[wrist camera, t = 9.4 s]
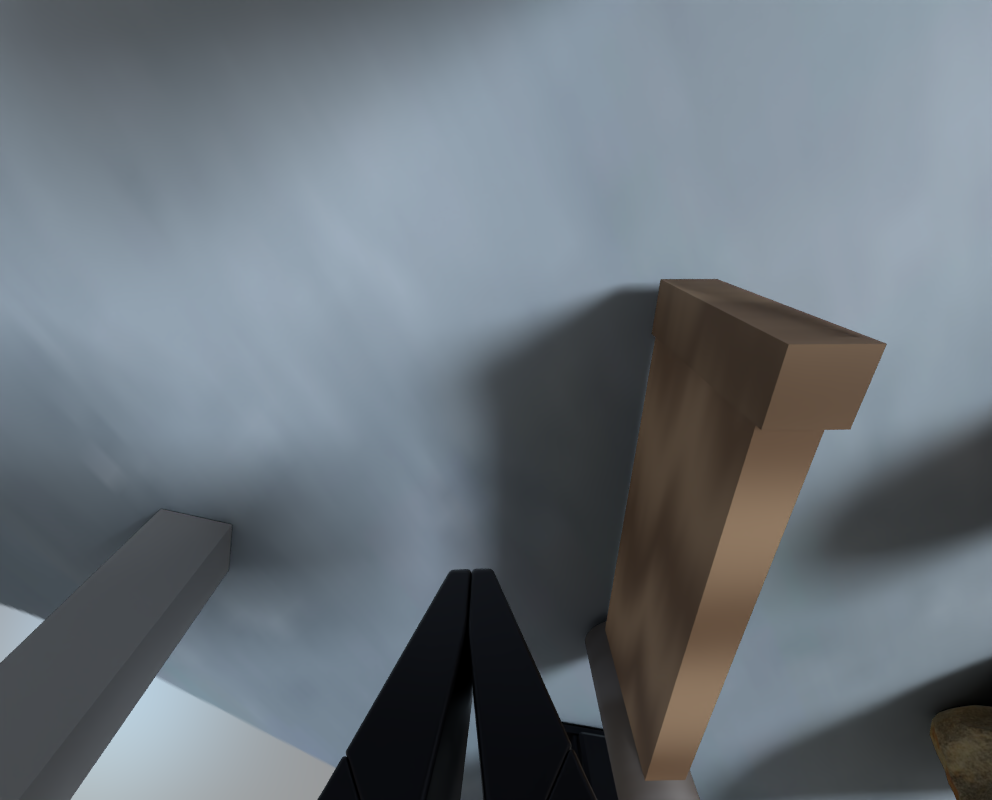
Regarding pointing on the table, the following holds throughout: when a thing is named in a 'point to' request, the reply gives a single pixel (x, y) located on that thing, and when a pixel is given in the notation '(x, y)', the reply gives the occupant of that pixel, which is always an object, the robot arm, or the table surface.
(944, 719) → the rough brown rock
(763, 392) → the gate
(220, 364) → the table surface
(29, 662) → the post
